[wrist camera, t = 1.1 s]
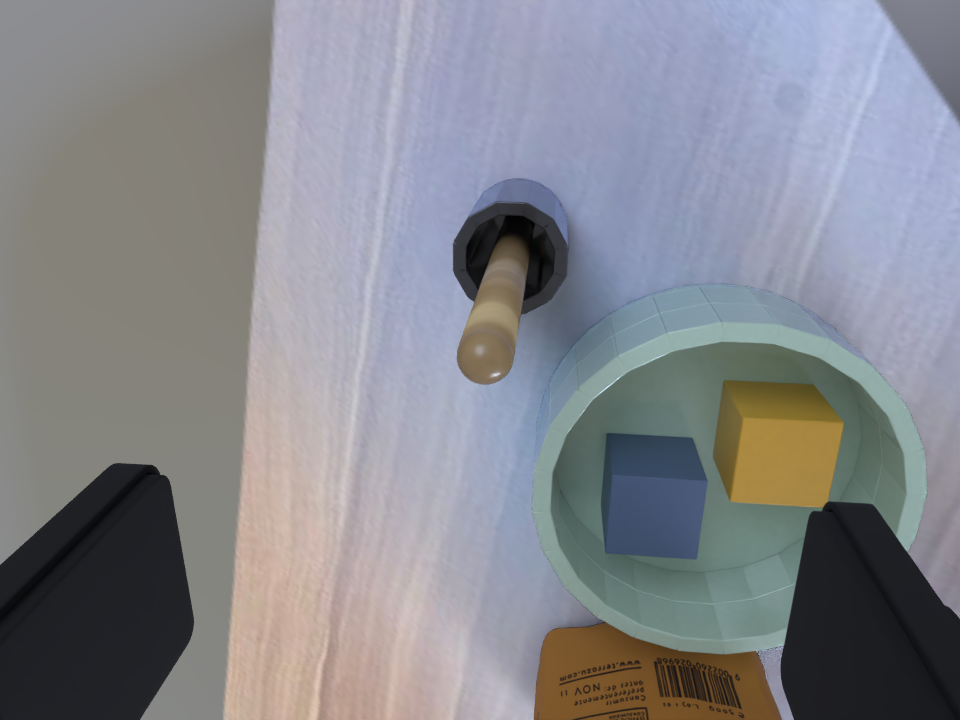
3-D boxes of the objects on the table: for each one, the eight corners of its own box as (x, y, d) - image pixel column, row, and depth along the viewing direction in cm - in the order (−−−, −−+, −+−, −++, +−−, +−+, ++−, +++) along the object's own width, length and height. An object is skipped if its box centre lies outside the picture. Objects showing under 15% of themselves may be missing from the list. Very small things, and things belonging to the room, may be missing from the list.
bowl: (543, 276, 34) (540, 314, 29) (906, 290, 33) (971, 332, 27) (530, 565, 40) (526, 639, 35) (839, 587, 38) (881, 668, 33)
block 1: (606, 432, 36) (611, 475, 32) (692, 437, 35) (708, 480, 32) (600, 505, 37) (604, 554, 34) (683, 510, 37) (696, 560, 33)
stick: (502, 212, 33) (453, 337, 18) (534, 213, 32) (513, 340, 18) (501, 244, 33) (453, 392, 18) (533, 245, 33) (511, 395, 18)
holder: (471, 176, 33) (452, 200, 27) (569, 179, 32) (570, 203, 27) (470, 271, 34) (453, 312, 29) (563, 274, 34) (564, 316, 28)
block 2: (722, 379, 34) (742, 417, 30) (814, 383, 34) (845, 423, 30) (711, 457, 36) (729, 502, 32) (799, 462, 35) (827, 509, 32)
